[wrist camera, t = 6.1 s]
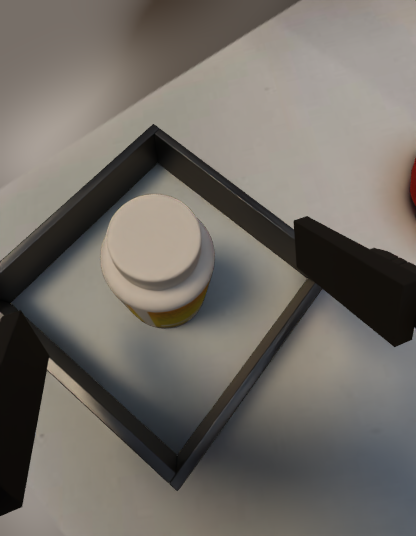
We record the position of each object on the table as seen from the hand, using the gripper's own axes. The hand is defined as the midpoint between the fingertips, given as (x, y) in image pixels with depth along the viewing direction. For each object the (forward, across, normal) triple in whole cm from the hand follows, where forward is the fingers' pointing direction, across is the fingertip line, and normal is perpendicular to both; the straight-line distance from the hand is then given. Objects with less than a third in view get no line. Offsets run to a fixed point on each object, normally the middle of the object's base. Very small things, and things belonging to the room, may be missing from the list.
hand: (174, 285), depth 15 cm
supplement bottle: (+7, 0, +4) cm, 8 cm away
